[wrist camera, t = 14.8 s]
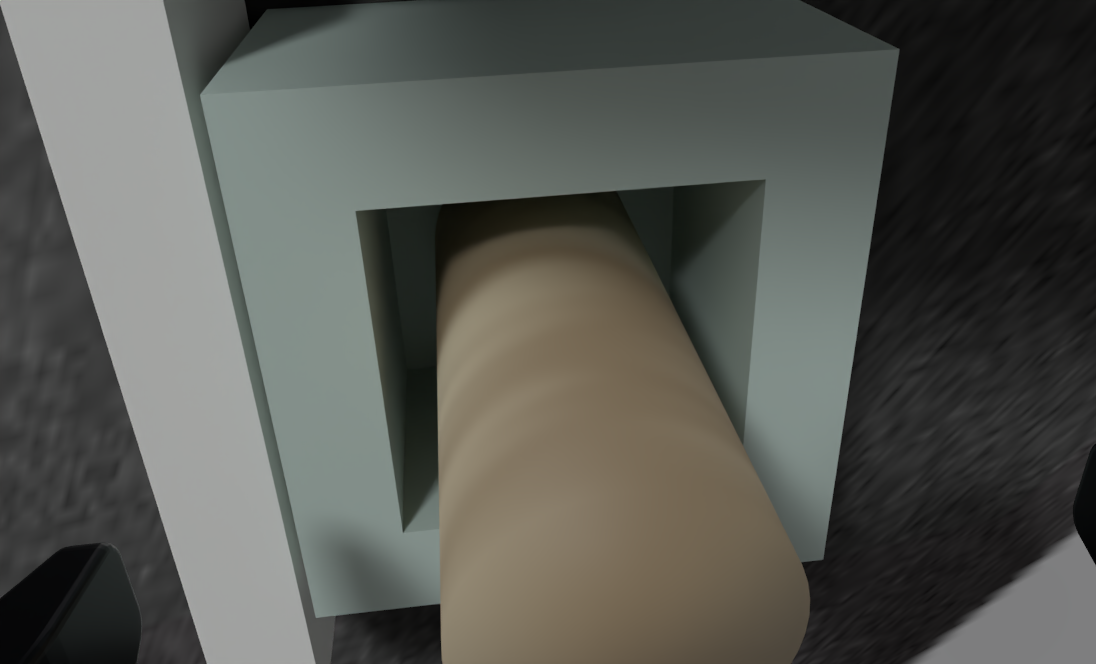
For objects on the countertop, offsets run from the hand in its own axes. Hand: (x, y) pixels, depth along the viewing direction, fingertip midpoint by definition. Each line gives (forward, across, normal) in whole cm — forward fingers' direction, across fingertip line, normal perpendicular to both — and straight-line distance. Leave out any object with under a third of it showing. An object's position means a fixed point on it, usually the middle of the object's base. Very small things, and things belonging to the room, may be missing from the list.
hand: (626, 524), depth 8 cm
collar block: (+7, 0, 0) cm, 7 cm away
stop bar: (+7, +5, 0) cm, 9 cm away
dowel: (+7, 0, 0) cm, 7 cm away
